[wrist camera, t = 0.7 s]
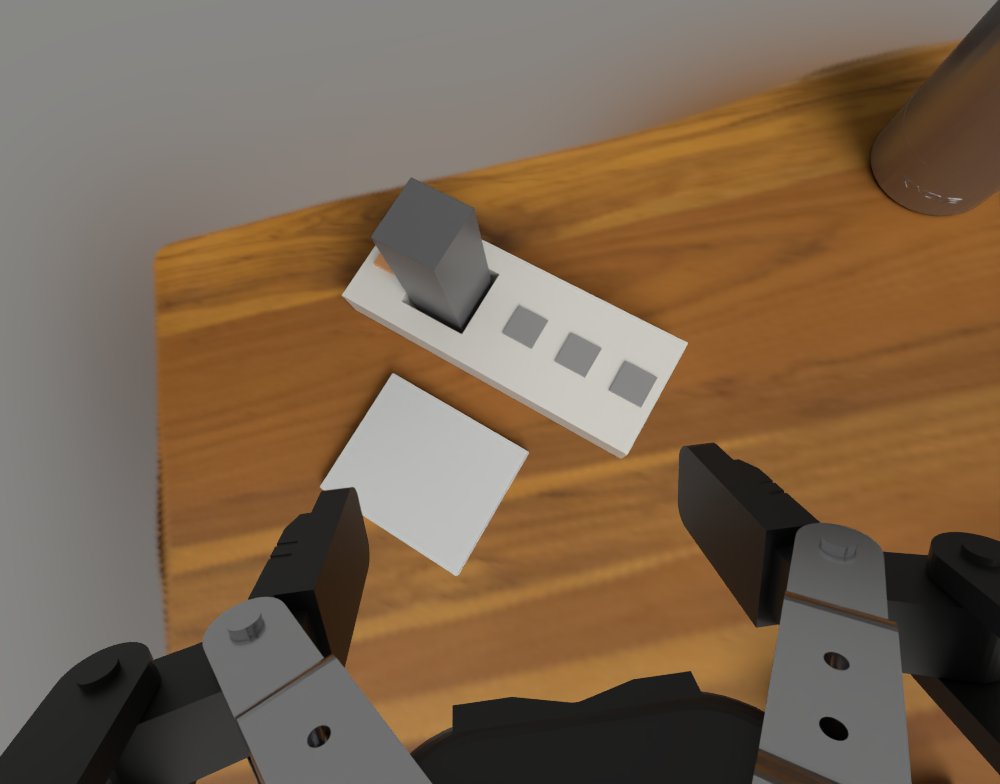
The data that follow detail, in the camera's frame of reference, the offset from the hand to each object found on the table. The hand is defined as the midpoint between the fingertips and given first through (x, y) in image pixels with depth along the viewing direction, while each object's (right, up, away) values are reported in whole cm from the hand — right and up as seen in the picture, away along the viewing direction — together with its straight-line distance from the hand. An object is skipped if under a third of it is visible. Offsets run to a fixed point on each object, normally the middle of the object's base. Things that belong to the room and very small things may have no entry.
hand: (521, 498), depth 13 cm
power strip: (0, +7, +28) cm, 29 cm away
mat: (-6, -3, +26) cm, 27 cm away
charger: (-4, +10, +29) cm, 30 cm away
